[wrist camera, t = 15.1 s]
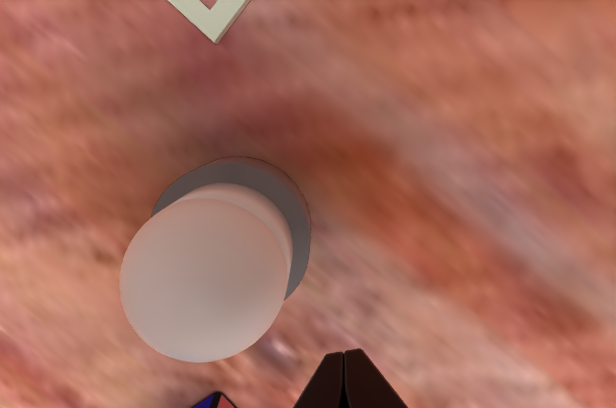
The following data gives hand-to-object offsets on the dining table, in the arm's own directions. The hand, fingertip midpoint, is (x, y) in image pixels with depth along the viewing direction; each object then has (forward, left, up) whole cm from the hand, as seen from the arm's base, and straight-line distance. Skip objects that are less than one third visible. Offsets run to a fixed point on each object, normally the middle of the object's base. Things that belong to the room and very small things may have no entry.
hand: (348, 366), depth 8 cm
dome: (+5, 0, -9) cm, 11 cm away
